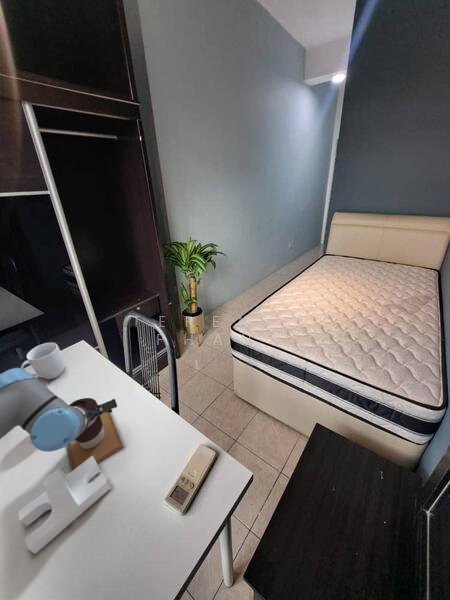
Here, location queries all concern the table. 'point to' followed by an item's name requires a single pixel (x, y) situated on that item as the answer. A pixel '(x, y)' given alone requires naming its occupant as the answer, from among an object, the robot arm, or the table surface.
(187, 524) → the table surface
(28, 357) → the mug
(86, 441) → the coffee cup
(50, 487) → the block with arch cutout
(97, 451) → the placemat
